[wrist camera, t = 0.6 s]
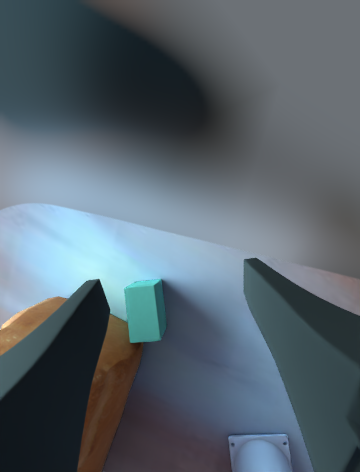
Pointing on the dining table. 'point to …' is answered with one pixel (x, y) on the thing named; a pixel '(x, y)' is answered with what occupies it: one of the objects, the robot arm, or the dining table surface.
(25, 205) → the dining table surface
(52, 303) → the bread
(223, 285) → the dining table surface
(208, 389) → the dining table surface
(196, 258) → the dining table surface
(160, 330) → the teal rectangular block
